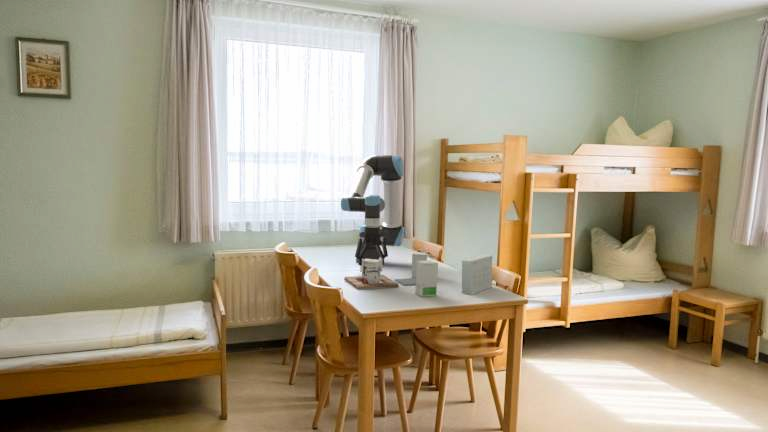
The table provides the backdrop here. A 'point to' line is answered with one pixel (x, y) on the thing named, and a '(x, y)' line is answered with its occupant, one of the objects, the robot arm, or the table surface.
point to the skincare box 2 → (476, 274)
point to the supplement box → (416, 257)
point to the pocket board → (386, 284)
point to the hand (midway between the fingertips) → (371, 271)
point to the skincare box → (426, 278)
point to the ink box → (371, 271)
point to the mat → (407, 281)
